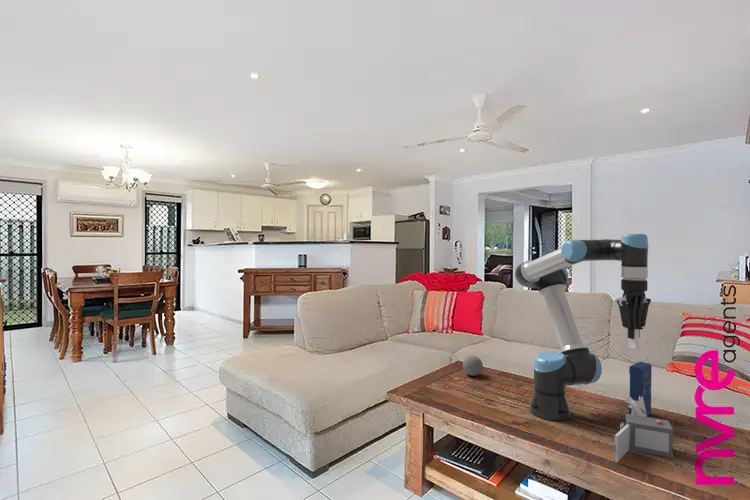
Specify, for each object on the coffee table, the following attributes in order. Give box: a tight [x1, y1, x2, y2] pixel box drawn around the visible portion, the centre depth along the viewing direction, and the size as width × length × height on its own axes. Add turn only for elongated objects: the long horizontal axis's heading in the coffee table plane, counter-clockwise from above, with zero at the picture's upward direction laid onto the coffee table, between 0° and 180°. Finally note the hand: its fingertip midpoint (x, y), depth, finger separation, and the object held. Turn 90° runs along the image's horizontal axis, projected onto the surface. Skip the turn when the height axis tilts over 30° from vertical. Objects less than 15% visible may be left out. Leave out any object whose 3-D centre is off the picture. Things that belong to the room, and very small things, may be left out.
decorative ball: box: [462, 355, 484, 377], centre depth 203 cm, size 10×10×10 cm
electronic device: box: [628, 361, 652, 417], centre depth 156 cm, size 10×5×20 cm, turn 127°
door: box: [611, 424, 631, 462], centre depth 127 cm, size 12×2×8 cm, turn 131°
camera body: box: [619, 413, 674, 458], centre depth 132 cm, size 14×7×10 cm, turn 63°
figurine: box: [623, 394, 648, 417], centre depth 148 cm, size 11×8×12 cm
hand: (633, 347), depth 135 cm, fingers closed
